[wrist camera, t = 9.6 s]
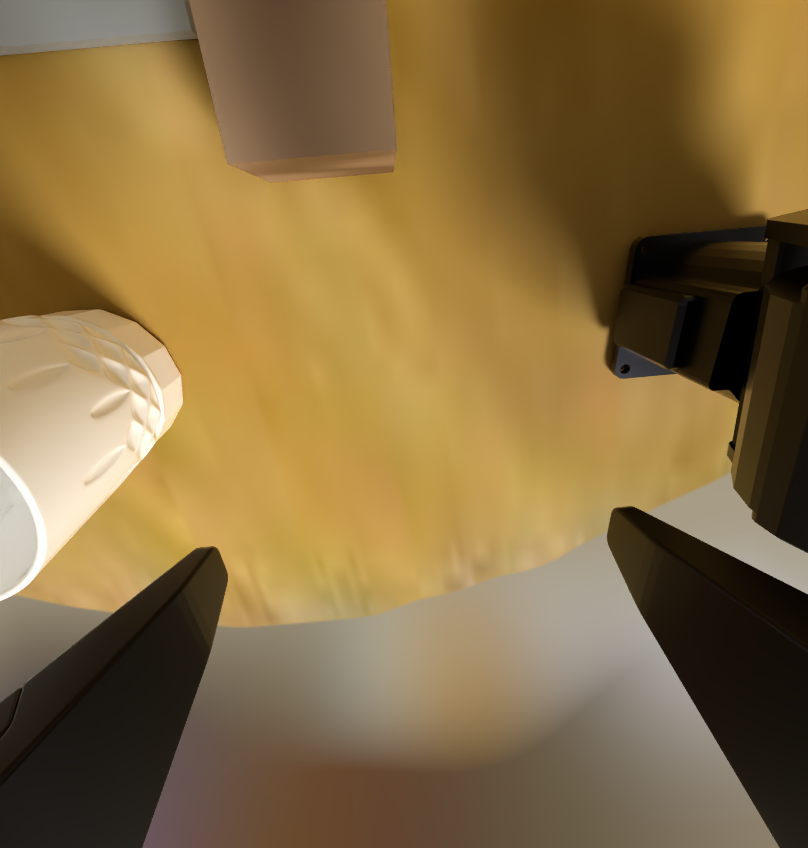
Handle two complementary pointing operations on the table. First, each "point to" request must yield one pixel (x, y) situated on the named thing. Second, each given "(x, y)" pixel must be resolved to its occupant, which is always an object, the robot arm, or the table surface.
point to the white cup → (72, 425)
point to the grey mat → (91, 23)
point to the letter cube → (300, 85)
